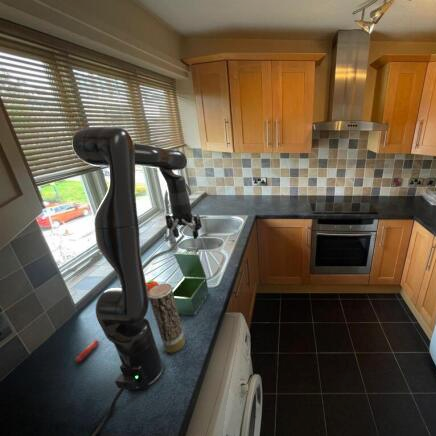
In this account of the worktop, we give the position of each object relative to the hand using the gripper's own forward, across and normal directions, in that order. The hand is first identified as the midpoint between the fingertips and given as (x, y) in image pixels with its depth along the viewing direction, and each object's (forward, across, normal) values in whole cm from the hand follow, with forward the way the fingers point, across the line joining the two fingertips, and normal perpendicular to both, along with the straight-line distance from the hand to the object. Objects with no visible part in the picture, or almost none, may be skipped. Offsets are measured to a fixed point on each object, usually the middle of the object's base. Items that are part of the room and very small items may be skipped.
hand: (186, 237), depth 102 cm
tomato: (+29, -20, -4) cm, 35 cm away
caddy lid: (+13, +1, -3) cm, 13 cm away
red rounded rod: (+29, -23, -35) cm, 51 cm away
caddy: (+29, +1, -8) cm, 30 cm away
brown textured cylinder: (+29, +6, -29) cm, 41 cm away
